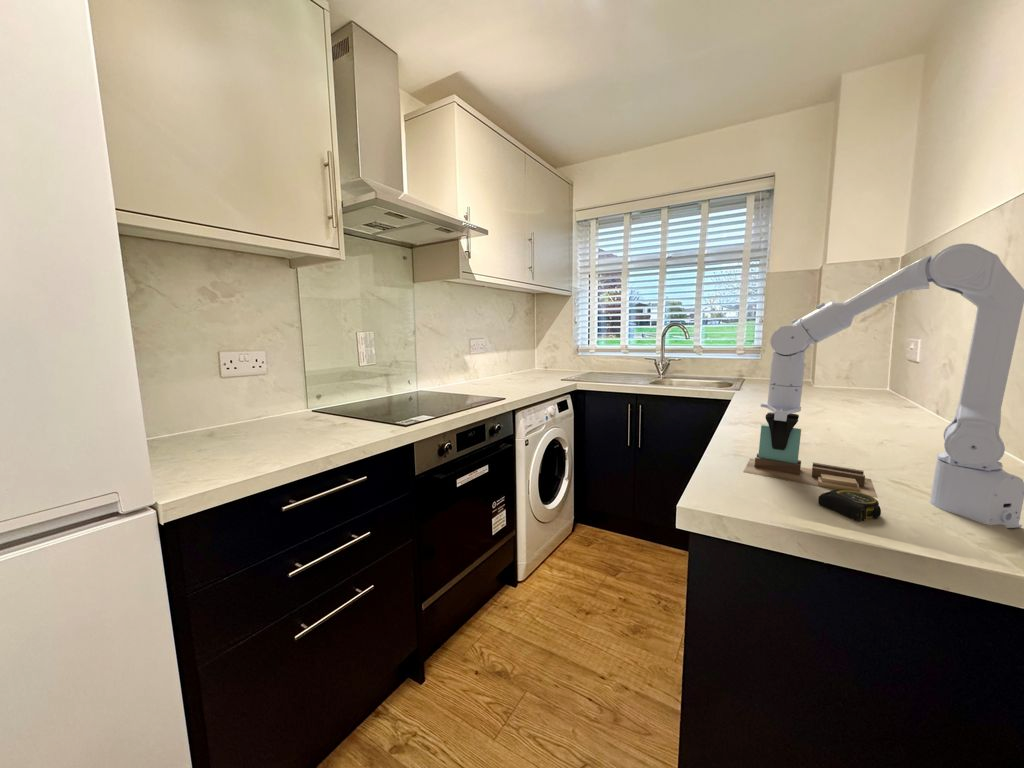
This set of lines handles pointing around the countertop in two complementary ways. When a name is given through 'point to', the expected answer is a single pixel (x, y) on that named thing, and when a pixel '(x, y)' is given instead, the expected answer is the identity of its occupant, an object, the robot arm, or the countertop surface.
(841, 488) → the lower oak offcut
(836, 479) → the upper oak offcut
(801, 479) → the walnut rack
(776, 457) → the teal sheet
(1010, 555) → the countertop surface
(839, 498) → the tape measure
